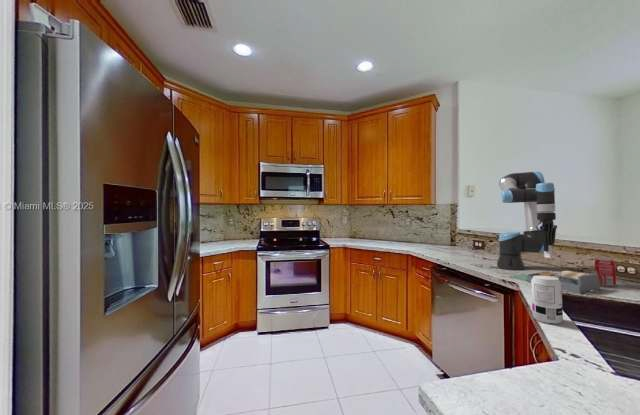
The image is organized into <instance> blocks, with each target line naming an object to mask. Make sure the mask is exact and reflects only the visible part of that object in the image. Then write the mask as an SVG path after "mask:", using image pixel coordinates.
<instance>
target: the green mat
mask: <svg viewBox="0 0 640 415" xmlns="http://www.w3.org/2000/svg"><path fill="white" fill-rule="evenodd" d="M527 275H528V274H524V273H521V274H516V275H509V276H508V278H510V277H511V278H510V279H514V278H515V280H520V281H525V282H527Z"/></svg>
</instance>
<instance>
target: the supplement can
mask: <svg viewBox="0 0 640 415" xmlns="http://www.w3.org/2000/svg"><path fill="white" fill-rule="evenodd" d="M530 284H531V303H532V304H531V307H532V308H531V309H532V310H531V311H532V317H533V318H534V319H535V320H536V321H537V322H541V323H543V322H546V323H545V324H548V323H560V324H561V323H563V322H564V313H563V312H564V311H563V293H562V292H563V290H562V286H561V282H560V281H559V279H558V278H556V277H552V276H545V275H535V276H533V278H532V280H531V283H530Z"/></svg>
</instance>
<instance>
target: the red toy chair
mask: <svg viewBox="0 0 640 415" xmlns="http://www.w3.org/2000/svg"><path fill="white" fill-rule="evenodd" d="M595 273H597V274H598V282H600V286H601V287H607V288H608V287H611V288H612V287H615V286H617V276H616V273H617V272H616V262H615V261H614V258H605V257H596V258H595V260H594V274H595Z"/></svg>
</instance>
